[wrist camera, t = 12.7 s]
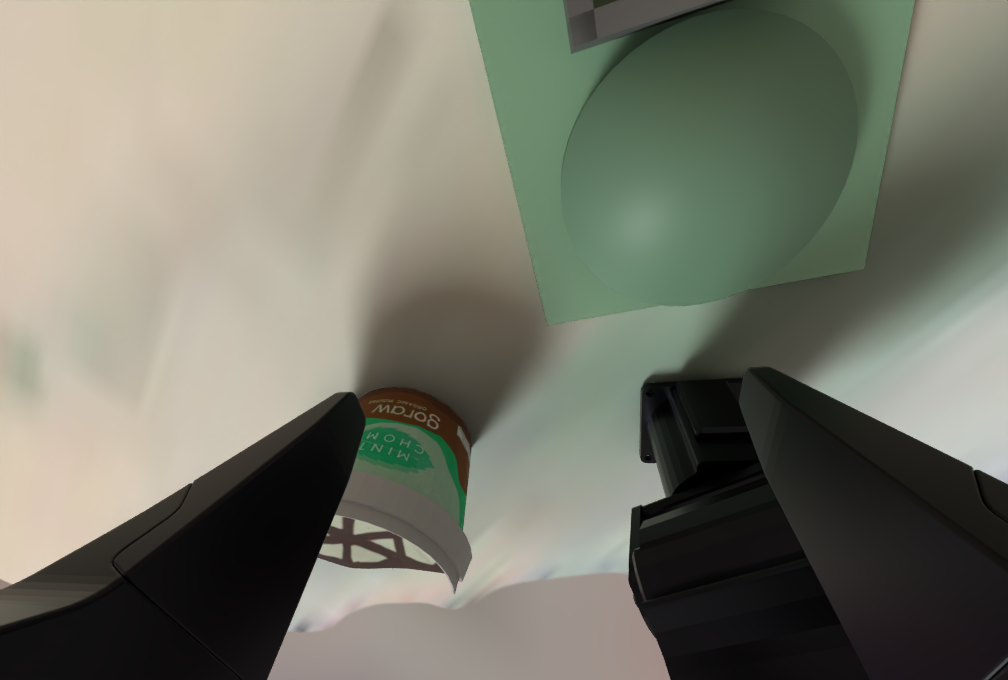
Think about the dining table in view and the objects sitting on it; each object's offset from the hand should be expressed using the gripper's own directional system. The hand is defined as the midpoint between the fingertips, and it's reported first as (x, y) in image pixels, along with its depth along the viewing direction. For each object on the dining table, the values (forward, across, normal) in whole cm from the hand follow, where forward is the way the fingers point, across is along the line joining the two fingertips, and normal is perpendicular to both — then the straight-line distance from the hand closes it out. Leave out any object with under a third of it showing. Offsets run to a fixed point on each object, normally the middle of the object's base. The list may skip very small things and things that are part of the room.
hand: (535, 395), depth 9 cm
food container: (+13, +11, +11) cm, 20 cm away
